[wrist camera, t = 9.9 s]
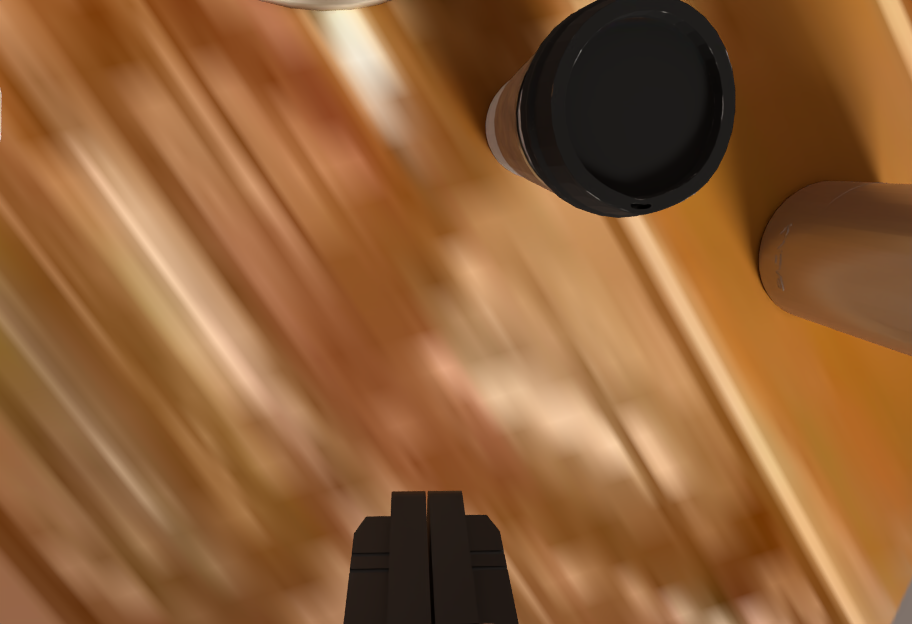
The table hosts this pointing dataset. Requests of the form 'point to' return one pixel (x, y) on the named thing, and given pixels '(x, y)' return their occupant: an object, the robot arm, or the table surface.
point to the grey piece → (0, 114)
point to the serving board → (326, 4)
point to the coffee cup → (619, 108)
